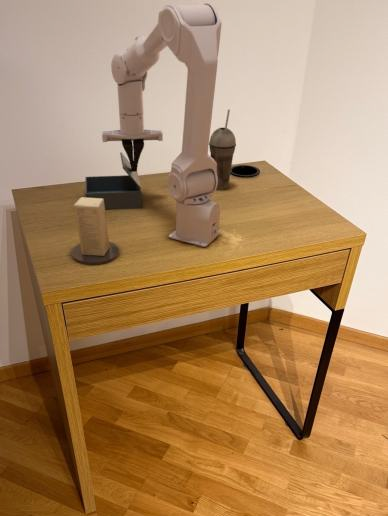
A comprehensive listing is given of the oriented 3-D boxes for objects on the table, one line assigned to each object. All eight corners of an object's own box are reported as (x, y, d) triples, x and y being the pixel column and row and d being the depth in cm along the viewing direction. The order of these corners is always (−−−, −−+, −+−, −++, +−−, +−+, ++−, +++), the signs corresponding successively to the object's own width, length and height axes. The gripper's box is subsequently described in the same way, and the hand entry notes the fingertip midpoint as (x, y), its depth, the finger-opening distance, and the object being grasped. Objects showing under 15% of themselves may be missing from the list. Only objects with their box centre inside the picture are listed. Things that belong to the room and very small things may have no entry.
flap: (136, 173, 131) (137, 172, 131) (140, 189, 122) (141, 188, 122) (120, 152, 127) (121, 152, 127) (122, 168, 118) (123, 167, 118)
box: (109, 247, 107) (105, 198, 100) (104, 256, 104) (99, 206, 97) (86, 245, 108) (80, 196, 101) (80, 254, 104) (73, 204, 97)
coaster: (127, 249, 108) (127, 246, 108) (101, 269, 101) (100, 266, 101) (90, 238, 111) (90, 236, 111) (62, 257, 104) (61, 254, 104)
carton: (137, 190, 134) (137, 174, 132) (141, 207, 125) (141, 191, 123) (87, 192, 132) (85, 176, 130) (87, 210, 123) (85, 193, 121)
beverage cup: (202, 183, 140) (205, 107, 127) (225, 180, 142) (231, 105, 129) (213, 193, 134) (217, 114, 122) (237, 189, 137) (243, 112, 124)
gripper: (159, 107, 121) (160, 163, 129) (99, 108, 118) (104, 165, 127) (163, 115, 115) (164, 173, 124) (100, 116, 113) (105, 175, 121)
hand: (134, 170), depth 125 cm, fingers closed
